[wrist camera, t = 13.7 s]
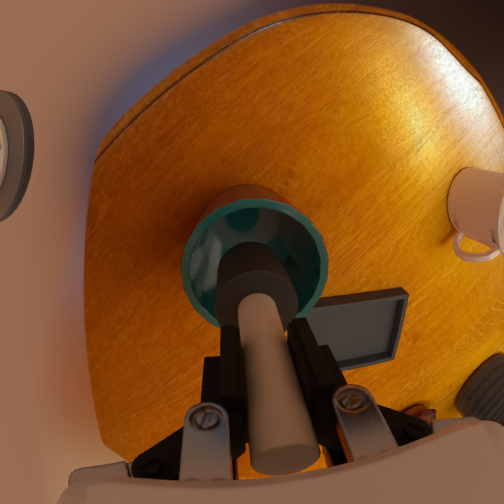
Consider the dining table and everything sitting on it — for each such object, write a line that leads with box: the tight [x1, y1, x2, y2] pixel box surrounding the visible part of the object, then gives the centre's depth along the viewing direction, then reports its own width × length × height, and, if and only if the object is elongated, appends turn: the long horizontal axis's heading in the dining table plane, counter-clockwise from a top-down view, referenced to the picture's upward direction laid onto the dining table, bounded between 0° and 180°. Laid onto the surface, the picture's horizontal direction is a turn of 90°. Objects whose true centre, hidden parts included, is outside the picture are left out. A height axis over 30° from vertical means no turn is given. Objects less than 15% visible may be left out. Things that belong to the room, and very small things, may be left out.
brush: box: [215, 242, 320, 475], centre depth 13 cm, size 4×4×14 cm
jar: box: [181, 185, 328, 329], centre depth 24 cm, size 10×10×10 cm
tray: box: [304, 287, 409, 371], centre depth 33 cm, size 13×10×2 cm
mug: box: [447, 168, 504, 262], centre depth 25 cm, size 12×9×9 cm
